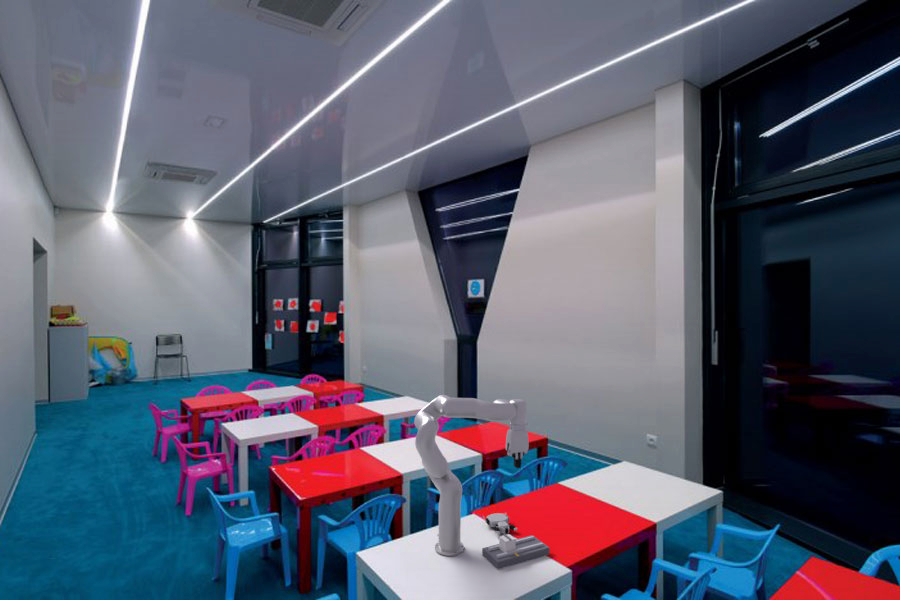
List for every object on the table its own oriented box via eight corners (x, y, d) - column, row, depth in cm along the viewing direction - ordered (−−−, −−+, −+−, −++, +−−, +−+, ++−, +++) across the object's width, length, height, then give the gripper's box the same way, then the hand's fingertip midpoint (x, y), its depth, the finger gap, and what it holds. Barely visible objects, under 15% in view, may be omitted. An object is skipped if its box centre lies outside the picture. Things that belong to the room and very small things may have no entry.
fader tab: (499, 548, 200) (499, 535, 201) (509, 545, 203) (509, 532, 203) (505, 553, 196) (505, 540, 196) (515, 551, 198) (515, 537, 199)
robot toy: (519, 535, 220) (504, 519, 234) (519, 526, 220) (505, 510, 234) (494, 540, 216) (482, 523, 230) (495, 530, 216) (482, 514, 230)
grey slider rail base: (482, 555, 201) (482, 545, 201) (532, 541, 213) (532, 532, 213) (497, 569, 190) (497, 559, 190) (549, 554, 202) (549, 545, 202)
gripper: (526, 423, 223) (525, 462, 223) (499, 426, 217) (499, 467, 216) (536, 426, 217) (535, 467, 217) (508, 430, 210) (508, 472, 210)
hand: (517, 467), depth 217 cm, fingers closed
